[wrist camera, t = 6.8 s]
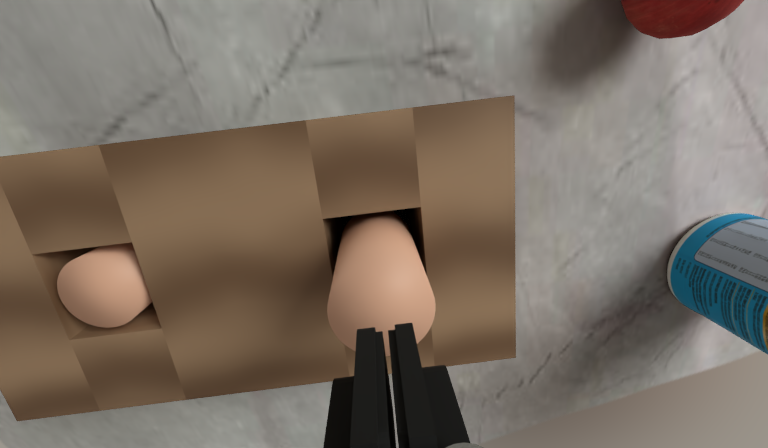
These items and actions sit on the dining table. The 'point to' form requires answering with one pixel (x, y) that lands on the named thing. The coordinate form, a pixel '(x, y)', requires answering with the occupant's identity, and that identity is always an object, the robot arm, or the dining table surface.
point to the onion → (676, 15)
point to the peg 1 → (104, 286)
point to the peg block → (250, 252)
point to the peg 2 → (379, 280)
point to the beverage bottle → (725, 274)
